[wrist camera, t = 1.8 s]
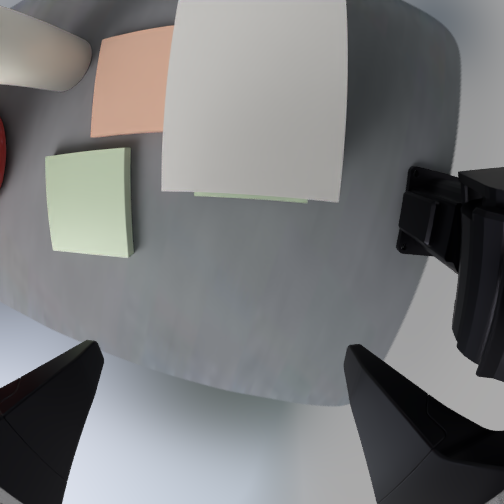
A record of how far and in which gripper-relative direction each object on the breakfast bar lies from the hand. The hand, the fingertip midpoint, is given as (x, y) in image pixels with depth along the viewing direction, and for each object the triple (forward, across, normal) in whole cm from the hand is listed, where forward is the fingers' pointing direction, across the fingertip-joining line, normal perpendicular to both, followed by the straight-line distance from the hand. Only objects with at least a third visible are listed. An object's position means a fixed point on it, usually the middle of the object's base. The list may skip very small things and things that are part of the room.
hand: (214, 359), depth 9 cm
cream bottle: (+12, +14, -16) cm, 24 cm away
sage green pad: (+12, +12, -4) cm, 17 cm away
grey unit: (+12, -2, -10) cm, 15 cm away
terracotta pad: (+12, +6, -12) cm, 18 cm away
